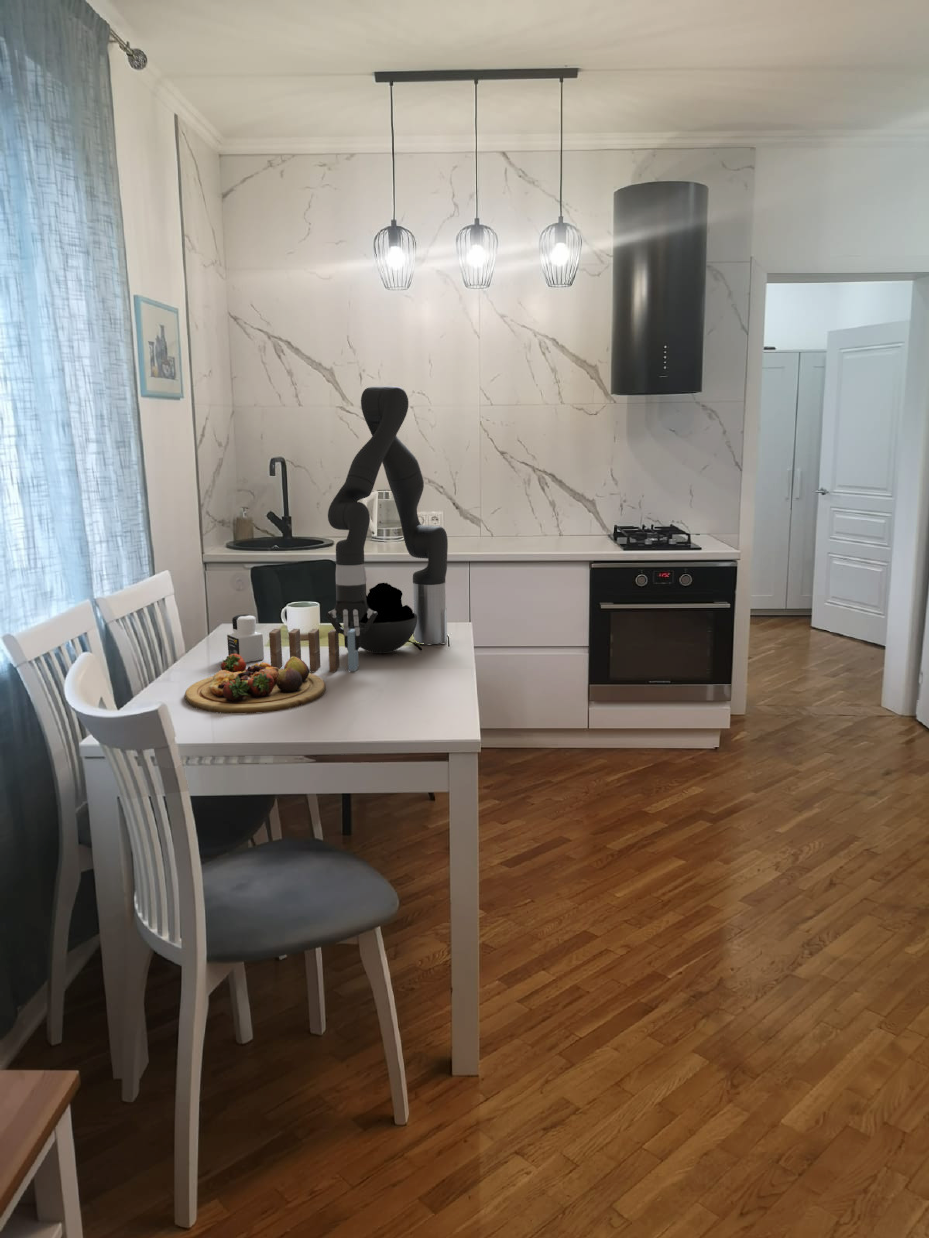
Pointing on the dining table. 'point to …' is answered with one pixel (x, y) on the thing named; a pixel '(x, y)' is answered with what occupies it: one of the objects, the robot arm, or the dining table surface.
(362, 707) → the dining table surface
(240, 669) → the wooden plate with food
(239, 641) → the medicine bottle
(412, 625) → the bowl of black rocks
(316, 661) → the tile
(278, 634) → the brown wooden block
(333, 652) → the tile
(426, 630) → the robot arm
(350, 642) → the tile
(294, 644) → the tile
